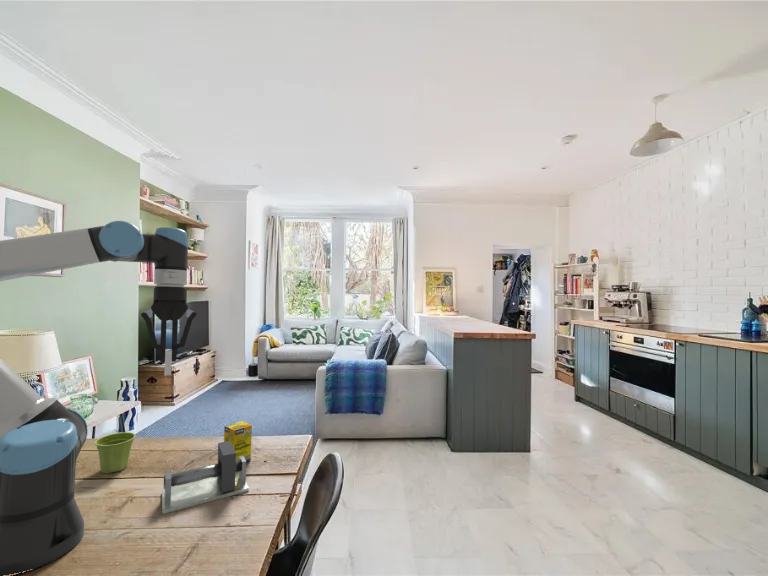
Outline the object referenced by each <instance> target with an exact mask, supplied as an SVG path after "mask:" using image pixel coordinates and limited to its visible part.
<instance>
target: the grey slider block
mask: <svg viewBox="0 0 768 576" xmlns="http://www.w3.org/2000/svg"><path fill="white" fill-rule="evenodd" d="M219 463H221V464H222V472H221V476H217V478H218V481H219V484H220V487H221V490H222V493H223V492H227V491H231V490H234V489H235V473H236V472H235V470H236V452H235V450H234V448H233V446H232V444H231V442H230V441H226V442H224V441H221V442H217V464H219Z"/></svg>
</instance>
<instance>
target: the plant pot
mask: <svg viewBox="0 0 768 576" xmlns="http://www.w3.org/2000/svg"><path fill="white" fill-rule="evenodd" d="M135 438H136V433H134V432H123V431H122V432H117V433H115V432H114V433H111V434H106V435H104V436H102V437H100V438H98V439H96V440H95V441H94V445H95V446H96V449H97V450H98V451H97V452H98V457H99V458H98V459H99V466H100V472H101V473H102V474H112V473H114V472H120V471H123V470H124V469H126V468H127V467H128V464H129V459H130V454H131V449H132V445H133V443H134V439H135Z"/></svg>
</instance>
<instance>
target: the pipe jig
mask: <svg viewBox="0 0 768 576" xmlns="http://www.w3.org/2000/svg"><path fill="white" fill-rule="evenodd" d="M221 472H222V464H221V463H219V464H218V463H216V464H215V463H214V464H210V465H207V466H200V467H197V468H192V469H189V470H183V471H180V472H175V473H172V471H171V470H170V471H165V472H164V473H165V474H164V475H163V490H161V504H162V505H161V507H162V508H161V515H166V514H168V513H174V512H177V511H180V510H185V509H187V508H191V507H194V506H198V505H202V504H206V503H209V502H213V501H214V502H215V501H216V500H221V499H224V498H227V497H232V496H235V495H239V494H243V493H246V492H249V491H250V488H249V485H248V483H247V481H246V480H247V479H246V478H247V462H246V460H245V458H244V456H239V459H237V460H236V470H235V489H234V490H231V491H227V492H223V493H222V490H221V487H220V484H219V481H218V478H217V476H221Z"/></svg>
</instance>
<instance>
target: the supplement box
mask: <svg viewBox="0 0 768 576" xmlns="http://www.w3.org/2000/svg"><path fill="white" fill-rule="evenodd" d="M252 427H253V425H252V424H250V423H248V422H245V421H243V420H241V421H238V422H235V423H234V422H233V423H231V424H226V425H224V429H223V430H224V431H223V432H224V433H223V442H226V441H230V442H231V444H232V446H233V448H234V450H235V452H236V460H237V459H239V456H244V458H245V460H246V463H247V461H248V462H250V461H252V436H253V435H252V433H253V432H252V430H253V428H252ZM249 460H250V461H249Z"/></svg>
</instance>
